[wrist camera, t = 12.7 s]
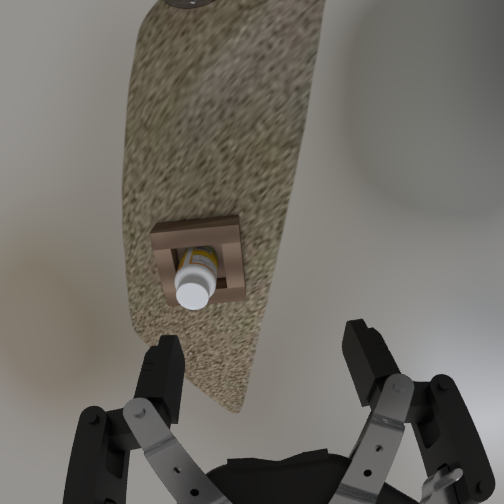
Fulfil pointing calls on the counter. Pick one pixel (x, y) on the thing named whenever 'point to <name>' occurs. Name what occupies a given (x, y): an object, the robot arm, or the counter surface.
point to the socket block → (201, 234)
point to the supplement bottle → (196, 276)
